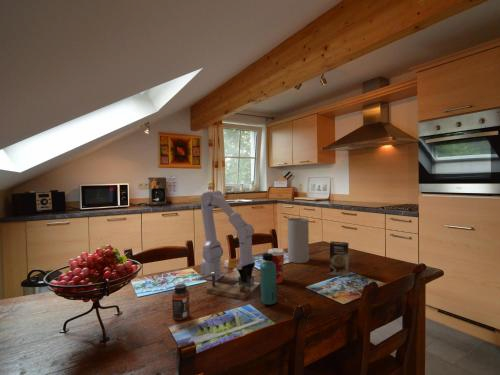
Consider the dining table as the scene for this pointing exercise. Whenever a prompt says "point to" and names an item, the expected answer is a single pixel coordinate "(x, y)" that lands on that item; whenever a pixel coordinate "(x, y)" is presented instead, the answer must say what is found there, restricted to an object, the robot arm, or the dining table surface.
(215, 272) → the latch bar
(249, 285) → the lever cap
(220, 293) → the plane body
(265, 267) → the beverage bottle
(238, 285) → the rubber pad
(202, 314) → the dining table surface
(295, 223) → the cylinder vase
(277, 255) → the coffee cup
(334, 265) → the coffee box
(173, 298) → the supplement bottle
